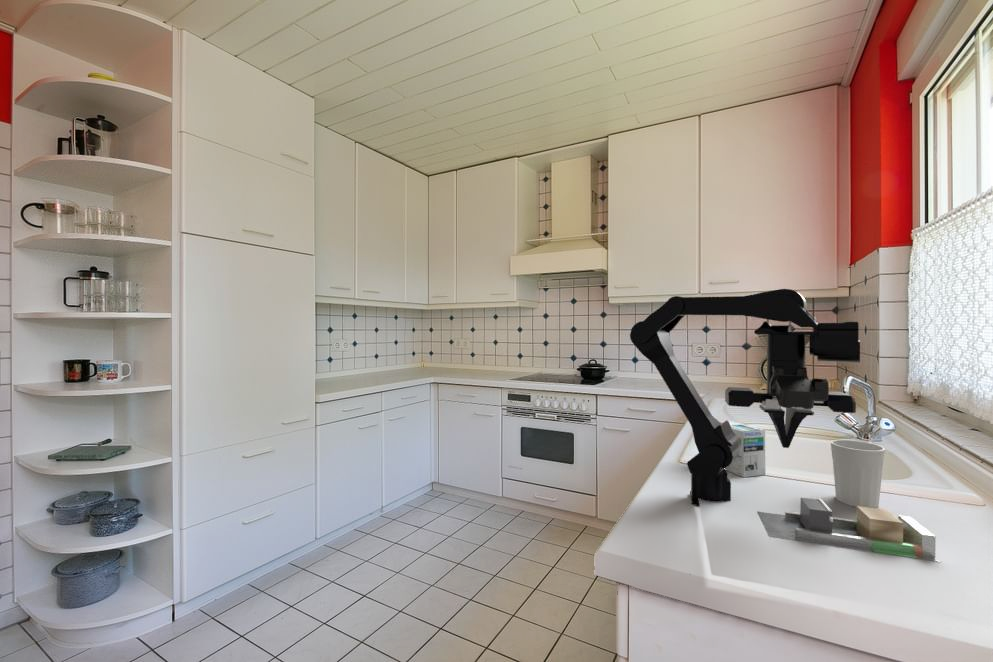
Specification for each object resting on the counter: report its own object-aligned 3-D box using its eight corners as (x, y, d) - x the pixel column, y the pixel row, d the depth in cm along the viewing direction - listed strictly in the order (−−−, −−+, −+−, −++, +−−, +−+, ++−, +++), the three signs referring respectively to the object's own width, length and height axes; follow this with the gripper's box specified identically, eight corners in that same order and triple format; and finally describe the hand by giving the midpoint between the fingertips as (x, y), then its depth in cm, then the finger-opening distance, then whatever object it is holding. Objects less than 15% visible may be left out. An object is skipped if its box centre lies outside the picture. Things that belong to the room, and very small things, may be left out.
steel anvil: (921, 554, 64) (922, 534, 64) (898, 533, 70) (898, 515, 70) (935, 556, 63) (935, 536, 63) (910, 535, 70) (910, 516, 70)
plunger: (811, 536, 69) (811, 509, 69) (800, 520, 74) (800, 496, 74) (834, 539, 67) (834, 512, 67) (821, 523, 73) (821, 498, 73)
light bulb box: (766, 475, 101) (767, 429, 101) (743, 478, 99) (743, 431, 99) (730, 461, 112) (730, 419, 111) (708, 464, 110) (708, 421, 109)
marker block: (869, 544, 67) (869, 518, 67) (856, 530, 71) (856, 506, 71) (902, 549, 65) (903, 522, 65) (887, 534, 70) (887, 509, 70)
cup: (895, 518, 78) (895, 452, 78) (844, 514, 80) (845, 449, 80) (867, 501, 86) (867, 440, 86) (821, 498, 88) (822, 438, 88)
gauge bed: (769, 543, 69) (769, 528, 69) (757, 518, 79) (757, 504, 79) (941, 570, 62) (941, 553, 62) (905, 538, 71) (905, 523, 71)
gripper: (733, 362, 73) (732, 454, 74) (870, 365, 67) (870, 467, 67) (724, 357, 84) (724, 438, 84) (843, 360, 77) (842, 448, 77)
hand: (785, 447), depth 78 cm, fingers closed
